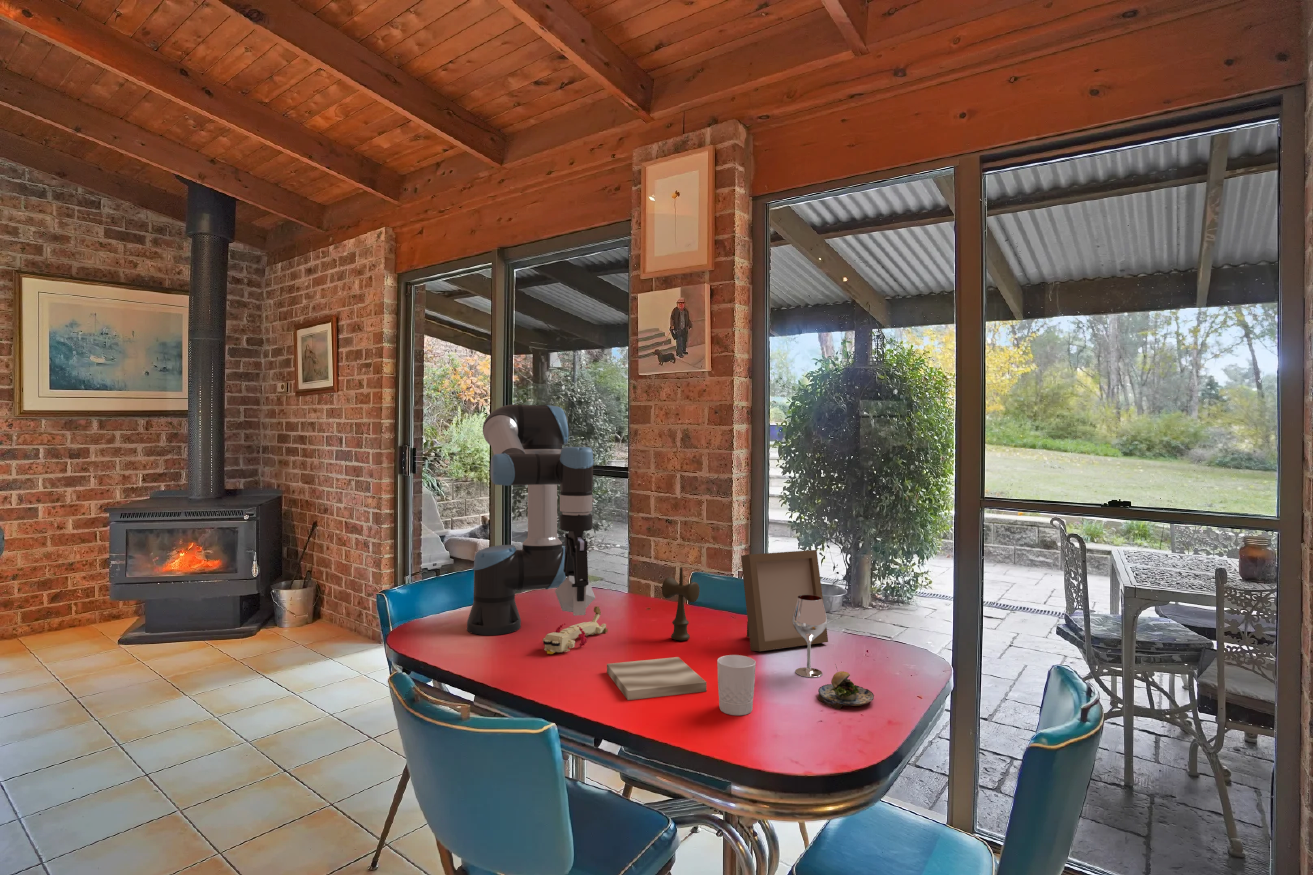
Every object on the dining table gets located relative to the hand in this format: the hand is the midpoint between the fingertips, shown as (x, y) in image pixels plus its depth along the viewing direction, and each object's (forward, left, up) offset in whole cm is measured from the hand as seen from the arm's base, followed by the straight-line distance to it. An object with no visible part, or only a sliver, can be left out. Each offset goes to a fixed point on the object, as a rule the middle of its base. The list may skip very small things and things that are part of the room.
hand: (575, 609), depth 162 cm
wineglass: (+14, +54, -16) cm, 58 cm away
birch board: (+9, +17, -15) cm, 25 cm away
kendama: (-20, +34, -16) cm, 42 cm away
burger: (+31, +53, -16) cm, 63 cm away
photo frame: (-10, +59, -16) cm, 62 cm away
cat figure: (-25, +5, -16) cm, 30 cm away
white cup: (+29, +28, -16) cm, 43 cm away
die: (0, 0, 0) cm, 0 cm away
